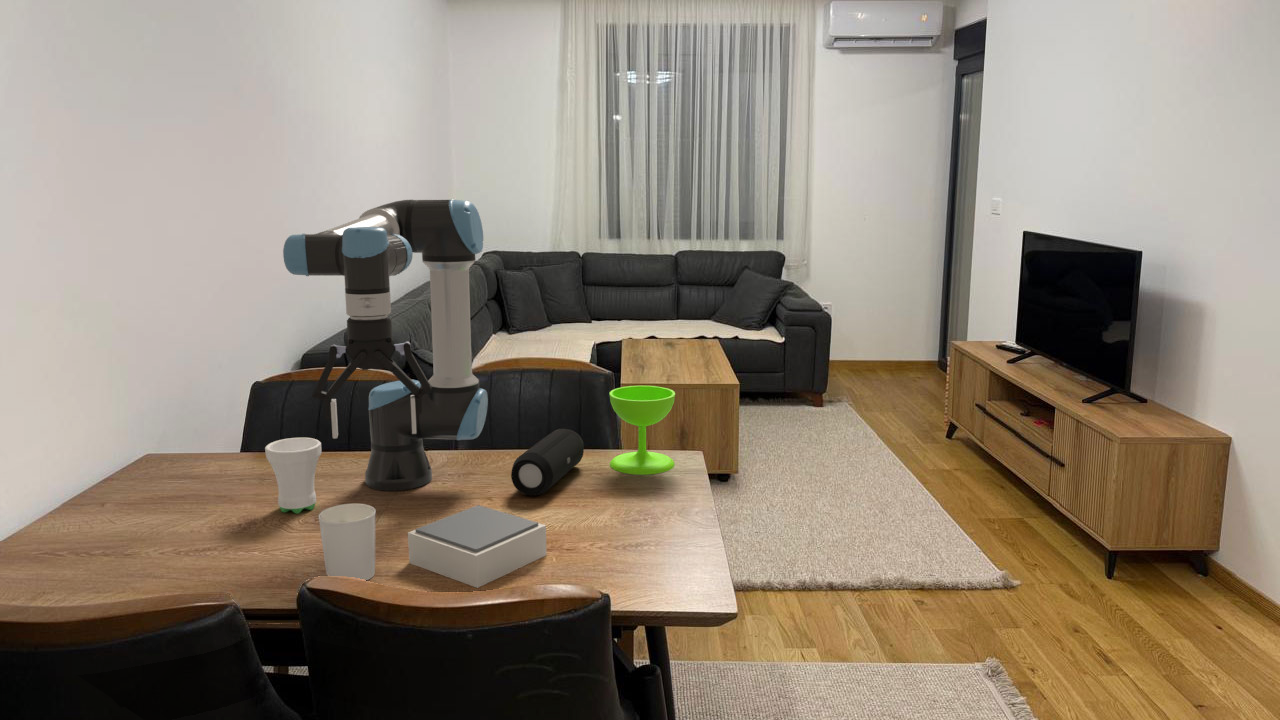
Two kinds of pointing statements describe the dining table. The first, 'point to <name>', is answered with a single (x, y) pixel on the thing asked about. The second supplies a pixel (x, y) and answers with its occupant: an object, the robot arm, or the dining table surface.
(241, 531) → the dining table surface
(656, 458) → the wineglass
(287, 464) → the cup
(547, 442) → the portable speaker
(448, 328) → the robot arm
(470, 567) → the plinth
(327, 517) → the candle holder
